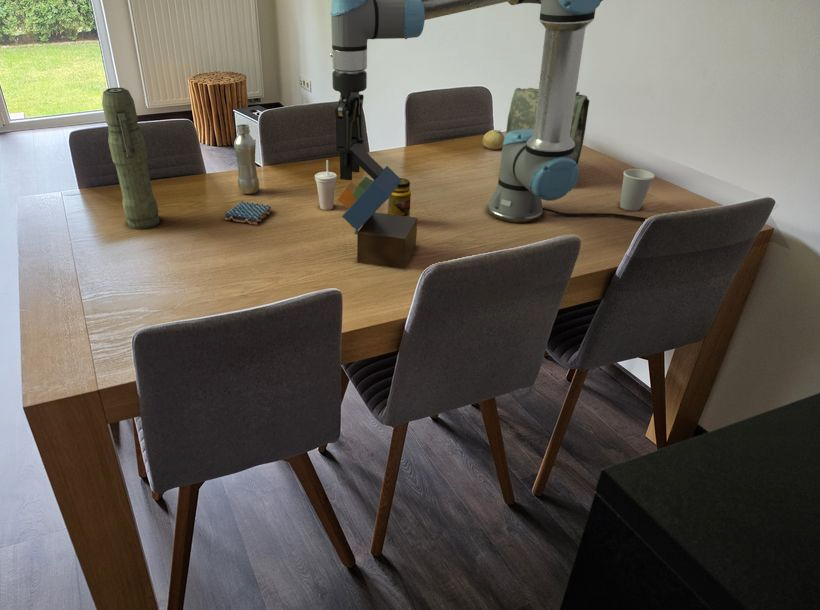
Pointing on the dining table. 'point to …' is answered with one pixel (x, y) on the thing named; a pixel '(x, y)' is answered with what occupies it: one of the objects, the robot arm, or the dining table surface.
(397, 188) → the condiment
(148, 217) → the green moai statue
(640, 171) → the dixie cup
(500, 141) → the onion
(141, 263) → the dining table surface
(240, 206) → the woven mat
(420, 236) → the dining table surface
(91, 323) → the dining table surface
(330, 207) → the smoothie
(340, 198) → the orange rectangular block
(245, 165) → the plastic bottle
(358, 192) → the green square block
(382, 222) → the stand
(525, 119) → the lunch bag
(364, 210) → the blue open box
